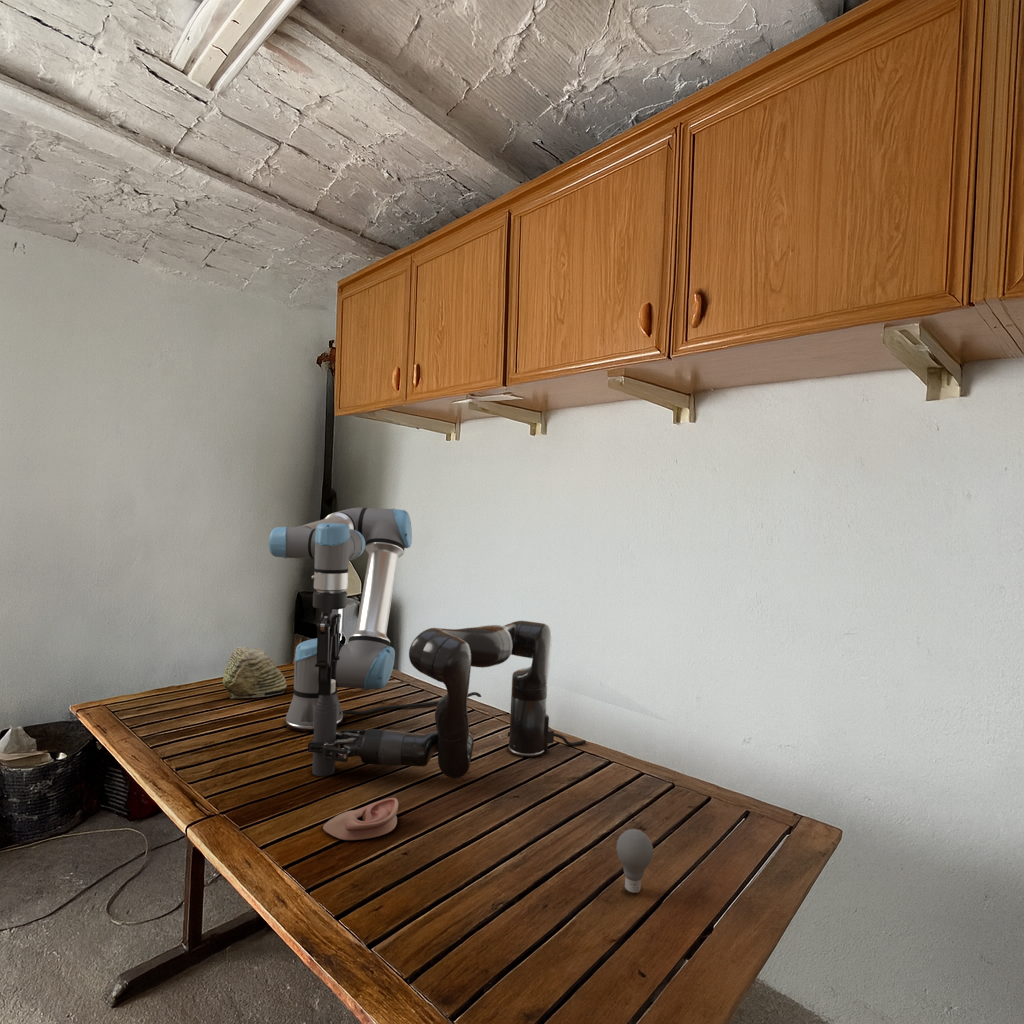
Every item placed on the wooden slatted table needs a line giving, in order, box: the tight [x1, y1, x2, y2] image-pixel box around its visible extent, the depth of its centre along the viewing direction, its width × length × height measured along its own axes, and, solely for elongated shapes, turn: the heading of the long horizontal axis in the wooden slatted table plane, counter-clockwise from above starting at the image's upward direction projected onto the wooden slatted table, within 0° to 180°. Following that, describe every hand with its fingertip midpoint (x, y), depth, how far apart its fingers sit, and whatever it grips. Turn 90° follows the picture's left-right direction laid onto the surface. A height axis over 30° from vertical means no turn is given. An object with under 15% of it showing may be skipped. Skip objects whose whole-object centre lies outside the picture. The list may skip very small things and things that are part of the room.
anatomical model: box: [322, 797, 399, 841], centre depth 122 cm, size 13×4×12 cm
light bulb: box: [615, 828, 654, 894], centre depth 106 cm, size 6×6×10 cm
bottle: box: [311, 693, 337, 777], centre depth 146 cm, size 5×5×21 cm
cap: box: [331, 679, 336, 693], centre depth 146 cm, size 4×4×2 cm
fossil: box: [222, 646, 288, 699], centre depth 198 cm, size 9×18×15 cm, turn 132°
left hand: (326, 691), depth 146 cm, fingers closed on cap, 4 cm apart
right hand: (313, 741), depth 146 cm, fingers closed on bottle, 5 cm apart
